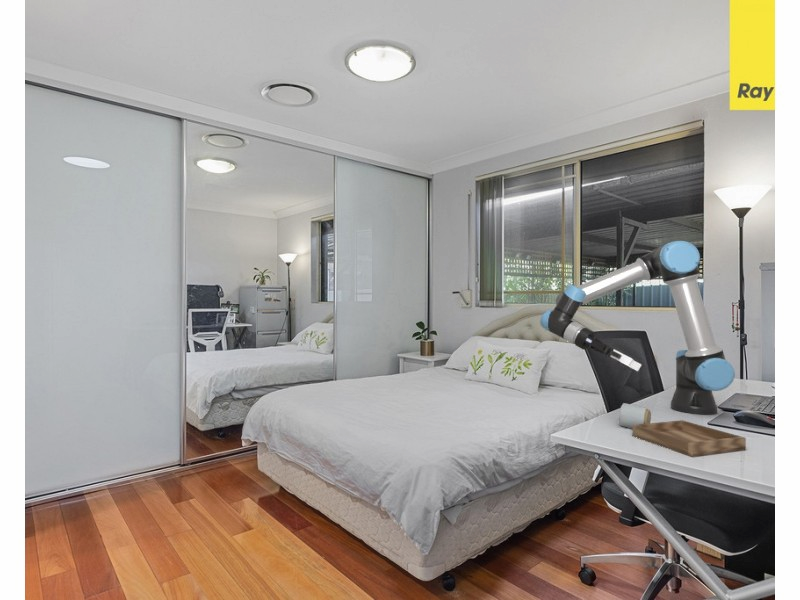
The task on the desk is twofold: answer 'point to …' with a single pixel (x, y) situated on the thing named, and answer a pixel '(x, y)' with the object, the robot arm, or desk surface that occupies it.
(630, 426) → the ceramic mug
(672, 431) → the walnut tray
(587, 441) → the desk surface
